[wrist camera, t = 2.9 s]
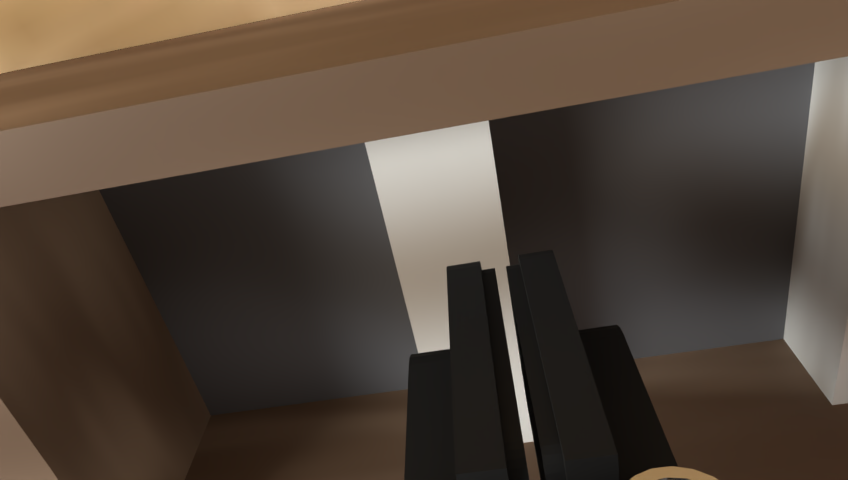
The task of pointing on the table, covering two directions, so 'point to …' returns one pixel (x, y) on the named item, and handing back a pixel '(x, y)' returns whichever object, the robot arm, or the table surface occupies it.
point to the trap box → (422, 230)
